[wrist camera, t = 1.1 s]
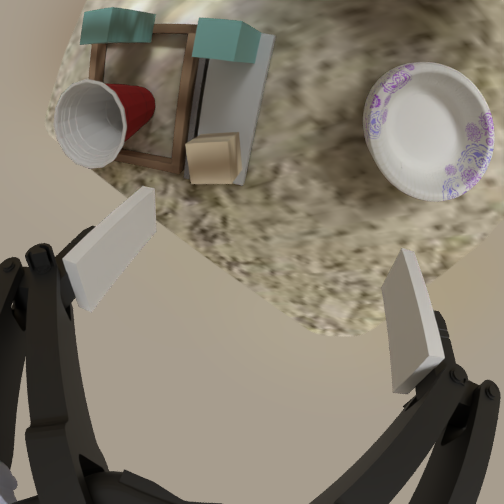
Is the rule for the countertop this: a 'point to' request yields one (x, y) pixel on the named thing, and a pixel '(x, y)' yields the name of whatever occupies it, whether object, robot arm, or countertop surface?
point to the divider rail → (197, 105)
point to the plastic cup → (99, 120)
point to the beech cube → (214, 158)
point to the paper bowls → (428, 130)
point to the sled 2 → (233, 79)
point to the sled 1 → (139, 31)
